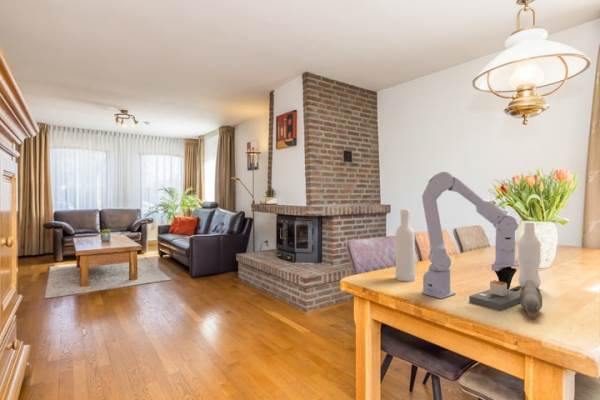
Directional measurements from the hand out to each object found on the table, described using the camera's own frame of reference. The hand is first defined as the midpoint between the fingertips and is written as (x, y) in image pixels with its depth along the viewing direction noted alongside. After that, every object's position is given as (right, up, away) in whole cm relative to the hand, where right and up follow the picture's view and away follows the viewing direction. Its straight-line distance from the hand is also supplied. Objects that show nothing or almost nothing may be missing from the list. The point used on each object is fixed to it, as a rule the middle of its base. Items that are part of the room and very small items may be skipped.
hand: (504, 288), depth 111 cm
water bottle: (+17, -3, +13) cm, 22 cm away
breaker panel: (-4, -3, -3) cm, 6 cm away
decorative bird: (0, -4, -12) cm, 13 cm away
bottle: (-26, -3, +26) cm, 37 cm away
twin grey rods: (+9, -3, +6) cm, 11 cm away
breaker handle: (-4, -1, -3) cm, 5 cm away
